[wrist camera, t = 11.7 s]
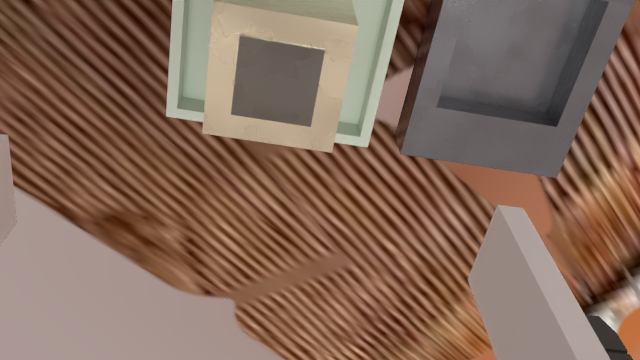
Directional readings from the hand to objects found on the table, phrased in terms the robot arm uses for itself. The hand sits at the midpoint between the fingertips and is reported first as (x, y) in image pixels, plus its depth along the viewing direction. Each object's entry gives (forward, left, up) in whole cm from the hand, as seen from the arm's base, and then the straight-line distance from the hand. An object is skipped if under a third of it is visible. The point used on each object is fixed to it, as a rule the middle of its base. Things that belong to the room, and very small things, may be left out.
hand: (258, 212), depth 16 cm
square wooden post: (0, 0, -20) cm, 20 cm away
